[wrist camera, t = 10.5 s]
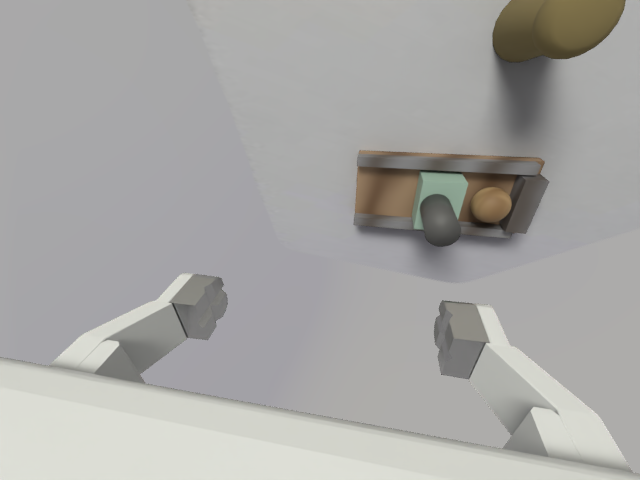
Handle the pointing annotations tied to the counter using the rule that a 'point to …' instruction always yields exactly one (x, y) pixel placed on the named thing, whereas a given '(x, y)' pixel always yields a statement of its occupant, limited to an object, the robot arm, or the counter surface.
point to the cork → (553, 27)
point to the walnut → (491, 204)
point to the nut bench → (479, 171)
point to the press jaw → (439, 205)
